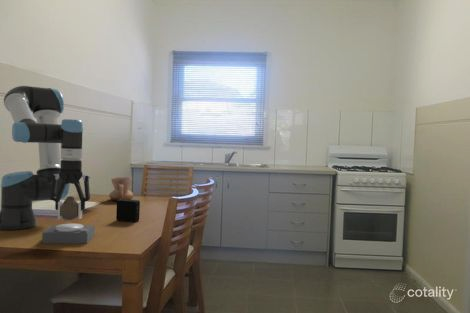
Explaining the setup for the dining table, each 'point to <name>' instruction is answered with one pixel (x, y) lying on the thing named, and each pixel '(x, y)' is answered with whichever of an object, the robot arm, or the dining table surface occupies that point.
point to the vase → (69, 209)
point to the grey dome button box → (68, 234)
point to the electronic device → (128, 210)
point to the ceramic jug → (121, 188)
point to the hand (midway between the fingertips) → (70, 218)
